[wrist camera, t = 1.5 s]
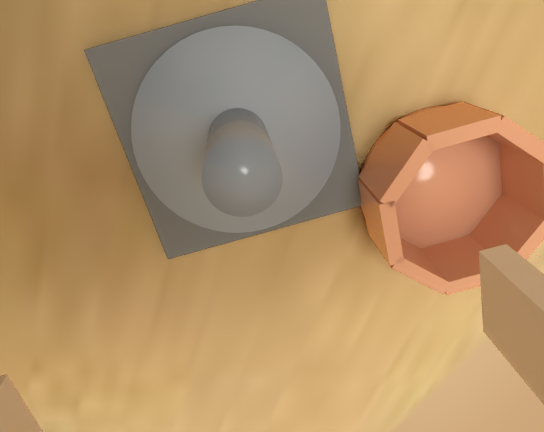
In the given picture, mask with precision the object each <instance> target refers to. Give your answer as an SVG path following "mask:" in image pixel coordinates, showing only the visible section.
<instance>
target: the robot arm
mask: <svg viewBox="0 0 544 432" xmlns="http://www.w3.org/2000/svg"><path fill="white" fill-rule="evenodd" d="M479 265H480V282H481V299H482V316H483V331H484V333H485V334H486V335H487V336H488V337H489V339H490V340H491V341H492V342H493V344H494V345H495V346H496V347H497V348H498V350H499V351H500V352H501V353H502V354H503V356H504V357H505V358H506V359H507V360H508V362H509V363H510V364H511V365H512V366H513V368H514V369H515V370H516V371H517V373H518V374H519V375H520V376H521V377H522V379H523V380H524V381H525V382H526V383H527V385H528V386H529V387H530V388H531V390H532V391H533V392H534V393H535V394H536V396H537V397H538V398H539V399H540V400H541V402H542V403H543V404H544V274H543V273H542V272H540V271H539V270H538V269H537V268H535V267H534V266H533V265H532V264H531V263H529V262H528V261H527V260H526V259H524V258H523V257H522V256H521V255H519V254H518V253H517V252H516V251H514V250H513V249H512V248H511V247H509V246H508V245H507V244H504V245H500V246H497V247H493V248H489V249H485V250H481V251H479ZM0 432H43V431H42V429H41V428H40V426H39V424H38V423H37V421H36V420H35V418H34V416H33V415H32V413H31V412H30V410H29V409H28V407H27V405H26V404H25V402H24V401H23V399H22V397H21V396H20V394H19V393H18V391H17V389H16V388H15V386H14V385H13V383H12V382H11V380H10V378H9V377H8V375H7V374H6V375H2V376H0Z"/></svg>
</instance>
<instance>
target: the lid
mask: <svg viewBox="0 0 544 432" xmlns="http://www.w3.org/2000/svg"><path fill="white" fill-rule="evenodd" d="M131 140H132V146H133V151H134V155H135V158H136V162H137V165H138V167H139V169H140V171H141V174H142V176H143V178H144V180H145V181H146V183H147V184H148V186H149V187H150V189H151V190H152V191H153V193H154V194H155V195H156V196H157V197H158V199H159V200H160V201H161V202H162V203H163V204H165V205H166V206H167V207H168V208H169V209H170V210H172V211H173V212H174V213H176V214H177V215H178V216H180V217H182V218H183V219H185V220H187V221H189V222H191V223H193V224H196V225H198V226H201V227H203V228H207V229H211V230H214V231H221V232H227V233H244V232H254V231H258V230H263V229H267V228H269V227H272V226H275V225H278V224H280V223H282V222H284V221H286V220H288V219H290V218H291V217H293V216H294V215H296V214H297V213H299V212H300V211H301V210H303V209H304V208H305V207H306V206H307V205H309V203H310V202H311V201H312V200H313V199H314V198H315V197H316V196H317V195H318V193H319V192H320V191H321V189H322V188H323V187H324V185H325V183H326V182H327V180H328V178H329V176H330V175H331V172H332V170H333V167H334V165H335V162H336V158H337V155H338V151H339V144H340V116H339V109H338V105H337V102H336V98H335V95H334V93H333V90H332V88H331V86H330V83H329V82H328V80H327V78H326V77H325V75H324V73H323V72H322V70H321V69H320V68H319V66H318V65H317V64H316V63H315V61H314V60H313V59H312V58H311V57H310V56H309V55H308V54H307V53H306V52H305V51H303V50H302V49H301V48H299V47H298V46H297V45H295V44H294V43H293V42H291V41H289V40H287V39H285V38H284V37H282V36H280V35H278V34H275V33H272V32H270V31H267V30H264V29H259V28H255V27H250V26H238V25H232V26H219V27H215V28H210V29H206V30H203V31H200V32H197V33H195V34H192V35H190V36H188V37H186V38H185V39H183V40H181V41H179V42H178V43H176V44H175V45H173V46H172V47H171V48H169V49H168V50H167V51H166V52H165V53H164V54H163V55H162V56H161V57H160V58H159V59H158V60H157V61H156V62H155V63H154V64H153V66H152V67H151V68H150V70H149V71H148V72H147V74H146V76H145V78H144V79H143V81H142V83H141V85H140V87H139V90H138V93H137V95H136V98H135V102H134V106H133V110H132V118H131Z"/></svg>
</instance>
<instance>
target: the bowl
mask: <svg viewBox="0 0 544 432" xmlns="http://www.w3.org/2000/svg"><path fill="white" fill-rule="evenodd" d="M359 178H360V179H358V184H359V189H360V195H361V203H362V206H361V209H362V212H363V215H364V217H365V220H366V225H367V231H368V234H369V236H370V237H371V239H372V240H373V242H374V243H375V245H376V246H377V248H378V249H379V251H380V252H381V254H382V255H383V256H384V258H385V259H386V261H387V262H388V264H389V265H390V267H391V268H392V269H394V270H396V271H398V272H400V273H402V274H404V275H406V276H408V277H410V278H412V279H413V280H415V281H417V282H419V283H421V284H423V285H425V286H427V287H429V288H431V289H433V290H435V291H437V292H439V293H441V294H444V293H445V294H446V295H449V294H452V293H456V292H460V291H463V290H467V289H471V288H474V287H478V286H481V282H480V265H479V251H481V250H485V249H489V248H493V247H497V246H500V245H504V244H507V245H508V246H509V247H511V248H512V249H513V250H514V251H516V252H517V253H518V254H519V255H521V256H522V257H523V258H524V259H526V260H527V259H528V258H529V256H530V255H531V254H532V253H533V252H534V250H535V249H536V248H537V247H538V246H539V245H540V243H541V242H542V241H543V240H544V142H542V141H541V140H539V139H538V138H536V137H535V136H533V135H532V134H530V133H529V132H527V131H526V130H525V129H523V128H522V127H520V126H519V125H517V124H516V123H514V122H513V121H511V120H510V119H508V118H507V117H505V116H503V115H500V114H498V113H495V112H492V111H489V110H486V109H483V108H480V107H477V106H474V105H471V104H468V103H465V102H464V103H463V102H458V103H455V104H451V105H447V106H446V105H444V106H433V107H428V108H424V109H421V110H418V111H415V112H413V113H411V114H409V115H407V116H405V117H403V118H401V119H398V121H397V122H394V123H393V125H392V126H390V127H389V128H388V129H387V130H386V131H385V132H384V133H383V134H382V135H381V136H380V137H379V138H378V140H377V141H376V142H375V144H374V145H373V146H372V148H371V150H370V151H369V153H368V155H367V157H366V159H365V162H364V164H363V167H362V171H361V173H360V174H359Z"/></svg>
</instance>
